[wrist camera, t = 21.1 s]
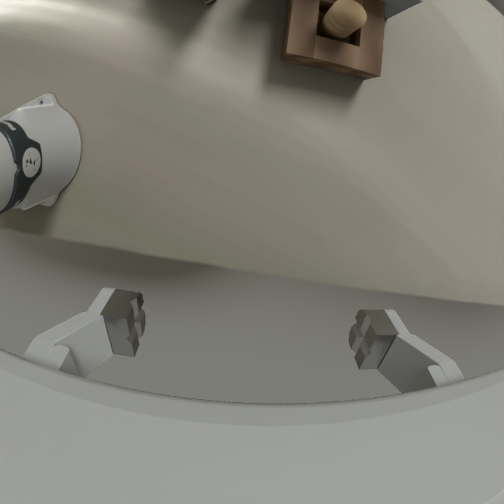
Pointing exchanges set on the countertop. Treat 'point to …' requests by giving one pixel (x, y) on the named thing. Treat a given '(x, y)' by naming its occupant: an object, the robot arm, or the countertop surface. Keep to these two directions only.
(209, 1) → the green rounded container
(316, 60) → the block
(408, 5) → the wall
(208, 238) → the countertop surface
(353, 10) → the dowel
